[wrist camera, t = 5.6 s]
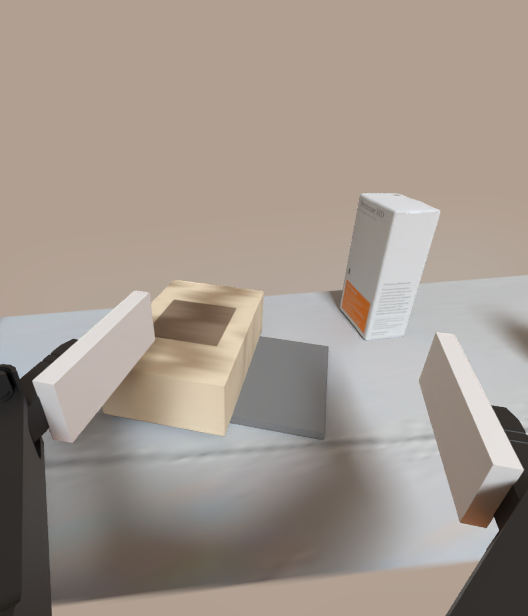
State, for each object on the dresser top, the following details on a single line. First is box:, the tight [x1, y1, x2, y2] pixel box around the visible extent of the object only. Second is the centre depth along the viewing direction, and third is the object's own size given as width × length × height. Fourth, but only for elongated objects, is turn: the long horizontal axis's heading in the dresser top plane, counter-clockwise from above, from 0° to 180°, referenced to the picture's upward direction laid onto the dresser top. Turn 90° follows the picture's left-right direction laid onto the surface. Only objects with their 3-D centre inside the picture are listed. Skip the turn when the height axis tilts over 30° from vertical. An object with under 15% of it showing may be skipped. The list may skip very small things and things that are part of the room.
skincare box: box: [340, 193, 440, 340], centre depth 32 cm, size 6×4×12 cm
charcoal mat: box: [230, 336, 328, 440], centre depth 28 cm, size 16×10×1 cm, turn 79°
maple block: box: [102, 280, 264, 436], centre depth 26 cm, size 8×4×12 cm
